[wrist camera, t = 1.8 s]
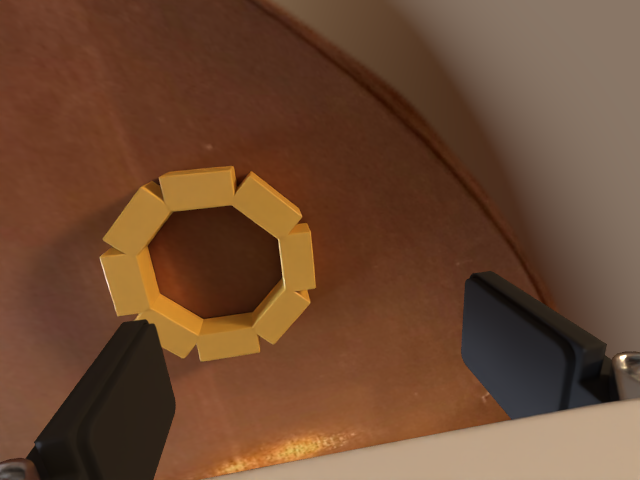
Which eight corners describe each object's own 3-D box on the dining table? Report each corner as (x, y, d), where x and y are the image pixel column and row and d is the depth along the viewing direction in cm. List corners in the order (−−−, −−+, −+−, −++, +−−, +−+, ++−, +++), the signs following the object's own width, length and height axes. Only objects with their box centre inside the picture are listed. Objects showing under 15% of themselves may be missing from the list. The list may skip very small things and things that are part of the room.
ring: (93, 178, 14) (76, 184, 13) (301, 158, 15) (304, 162, 14) (144, 353, 17) (134, 372, 16) (316, 326, 18) (321, 343, 17)
